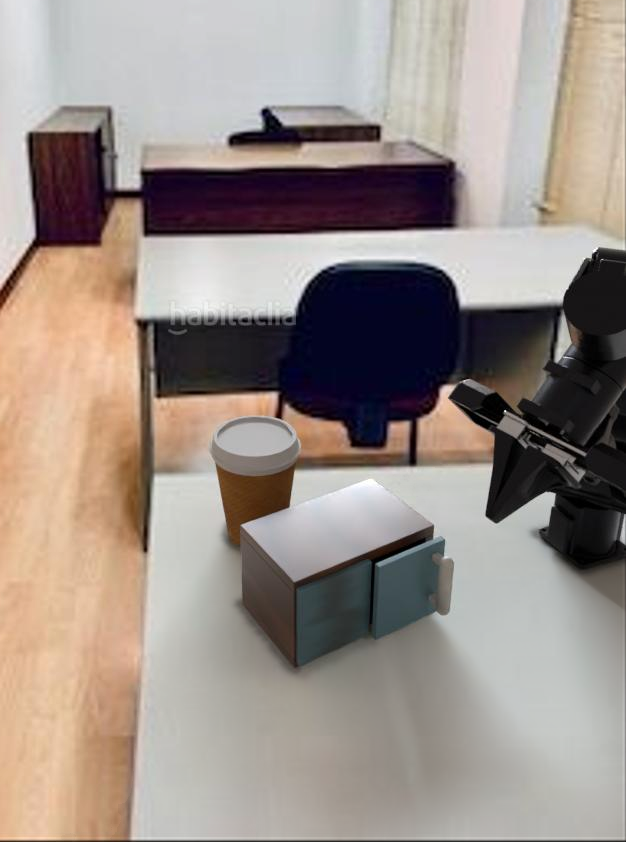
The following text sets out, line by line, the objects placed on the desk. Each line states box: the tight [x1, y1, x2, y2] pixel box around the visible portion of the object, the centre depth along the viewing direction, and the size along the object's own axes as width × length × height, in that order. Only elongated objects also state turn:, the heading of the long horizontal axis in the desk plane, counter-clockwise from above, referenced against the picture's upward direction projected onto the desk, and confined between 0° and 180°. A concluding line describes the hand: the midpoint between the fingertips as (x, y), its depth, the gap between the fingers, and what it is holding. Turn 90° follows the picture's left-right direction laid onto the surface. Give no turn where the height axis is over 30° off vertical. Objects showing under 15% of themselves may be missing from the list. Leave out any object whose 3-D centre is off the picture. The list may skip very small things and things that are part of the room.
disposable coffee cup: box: [208, 414, 302, 548], centre depth 80 cm, size 10×10×12 cm
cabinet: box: [240, 478, 435, 669], centre depth 70 cm, size 15×10×9 cm, turn 119°
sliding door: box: [371, 535, 455, 641], centre depth 66 cm, size 7×3×8 cm, turn 119°
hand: (490, 520), depth 66 cm, fingers closed
